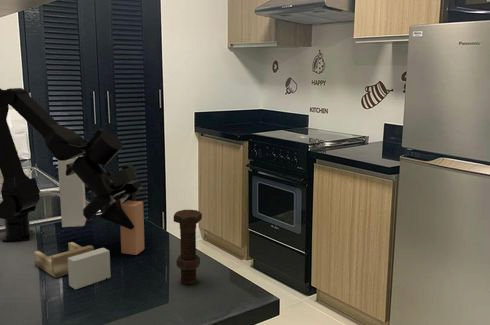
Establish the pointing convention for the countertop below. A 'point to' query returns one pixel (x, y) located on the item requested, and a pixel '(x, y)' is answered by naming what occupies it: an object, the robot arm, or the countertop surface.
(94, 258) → the stop block
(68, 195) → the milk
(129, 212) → the orange rectangular block
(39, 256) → the cradle
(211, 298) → the countertop surface
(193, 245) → the bolt
